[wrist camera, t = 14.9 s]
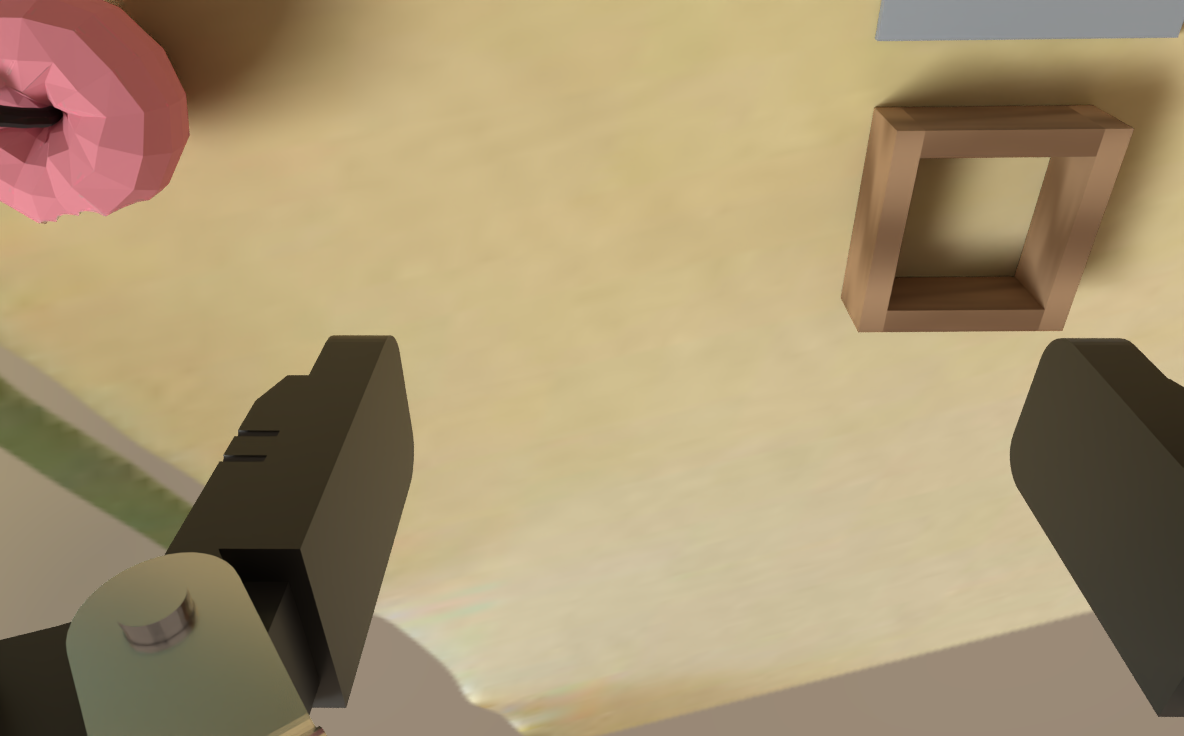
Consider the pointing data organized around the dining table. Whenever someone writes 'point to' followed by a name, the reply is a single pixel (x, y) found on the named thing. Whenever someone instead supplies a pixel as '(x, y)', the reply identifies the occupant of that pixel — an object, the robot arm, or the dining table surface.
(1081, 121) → the pocket block
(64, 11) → the apple
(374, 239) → the dining table surface
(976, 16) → the rubber mat
